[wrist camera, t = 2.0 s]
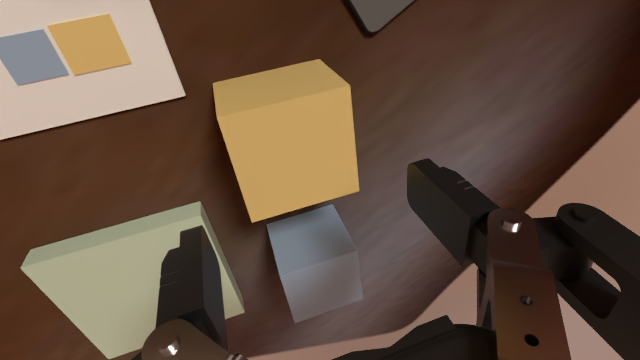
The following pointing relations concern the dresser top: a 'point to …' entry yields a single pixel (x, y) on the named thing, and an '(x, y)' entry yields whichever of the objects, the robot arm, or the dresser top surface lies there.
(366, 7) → the smartphone
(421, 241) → the dresser top surface
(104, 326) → the plate
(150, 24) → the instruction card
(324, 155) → the ochre brick
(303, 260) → the grey cube
